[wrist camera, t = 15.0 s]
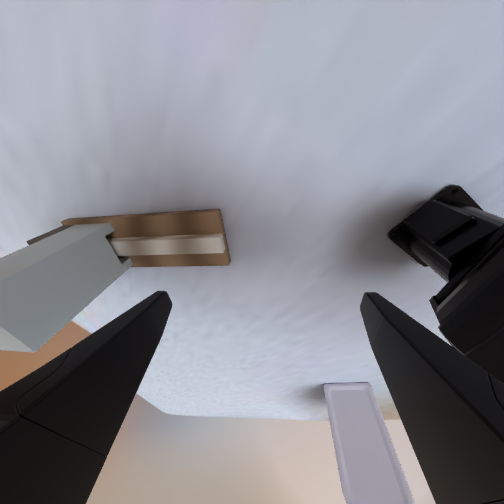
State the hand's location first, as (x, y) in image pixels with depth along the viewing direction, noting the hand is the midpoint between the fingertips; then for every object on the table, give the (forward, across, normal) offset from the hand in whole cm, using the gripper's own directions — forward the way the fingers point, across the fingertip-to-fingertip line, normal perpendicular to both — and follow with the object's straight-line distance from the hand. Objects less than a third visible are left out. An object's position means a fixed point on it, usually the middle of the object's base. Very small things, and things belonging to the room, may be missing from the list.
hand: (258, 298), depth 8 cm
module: (+12, +21, +4) cm, 25 cm away
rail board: (+13, +15, +4) cm, 20 cm away
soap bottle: (+13, -14, +41) cm, 45 cm away
